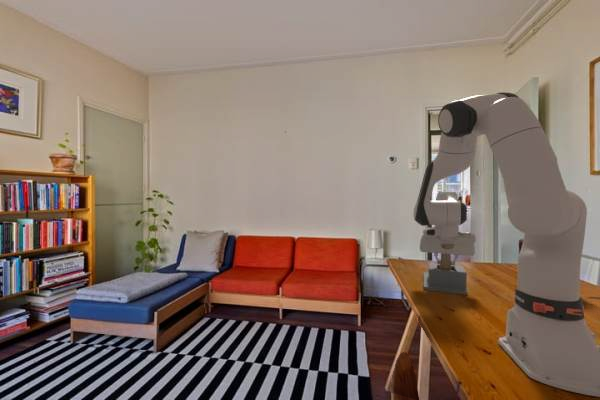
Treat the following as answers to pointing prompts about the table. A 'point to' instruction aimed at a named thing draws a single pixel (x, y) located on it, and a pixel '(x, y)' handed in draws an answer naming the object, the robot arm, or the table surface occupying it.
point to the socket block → (446, 279)
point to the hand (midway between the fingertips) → (445, 264)
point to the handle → (446, 257)
